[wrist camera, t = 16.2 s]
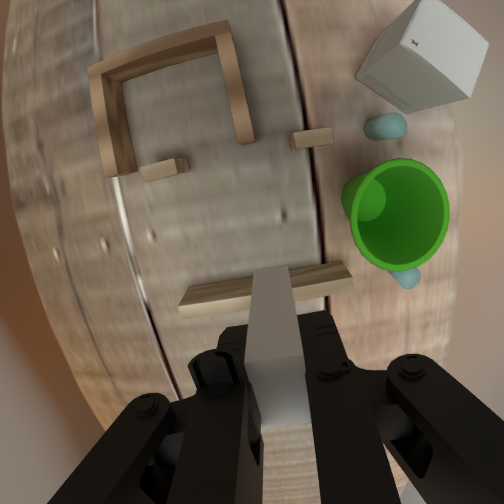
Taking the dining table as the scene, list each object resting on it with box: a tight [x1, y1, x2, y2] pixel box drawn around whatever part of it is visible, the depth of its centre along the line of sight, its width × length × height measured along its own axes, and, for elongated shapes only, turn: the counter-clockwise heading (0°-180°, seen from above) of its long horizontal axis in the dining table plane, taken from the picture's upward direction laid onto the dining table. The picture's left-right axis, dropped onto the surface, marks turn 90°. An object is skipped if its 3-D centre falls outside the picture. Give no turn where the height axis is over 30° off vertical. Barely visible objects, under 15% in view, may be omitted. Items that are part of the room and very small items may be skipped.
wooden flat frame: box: [88, 20, 354, 319], centre depth 30 cm, size 28×22×5 cm
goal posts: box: [364, 113, 420, 289], centre depth 29 cm, size 17×2×6 cm, turn 11°
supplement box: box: [355, 0, 489, 114], centre depth 22 cm, size 7×7×13 cm
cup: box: [342, 158, 450, 272], centre depth 27 cm, size 9×9×11 cm
